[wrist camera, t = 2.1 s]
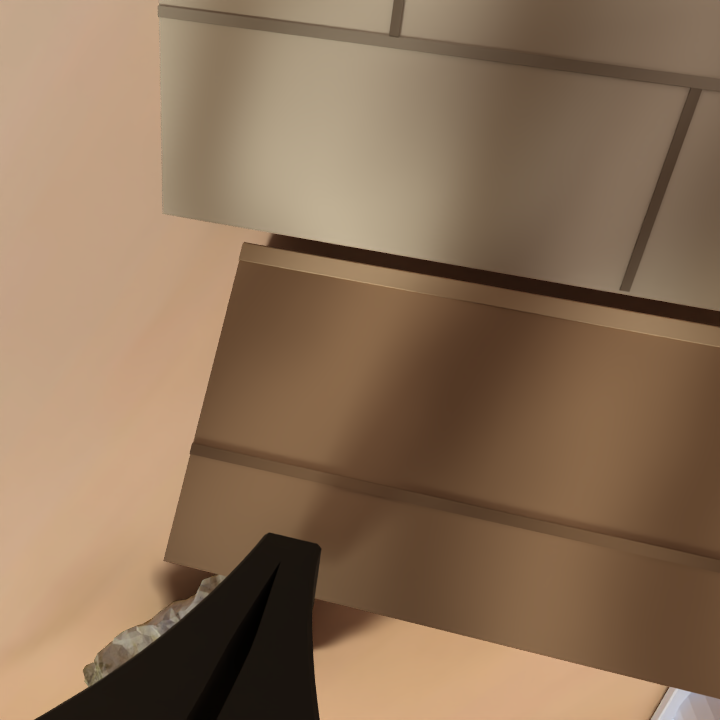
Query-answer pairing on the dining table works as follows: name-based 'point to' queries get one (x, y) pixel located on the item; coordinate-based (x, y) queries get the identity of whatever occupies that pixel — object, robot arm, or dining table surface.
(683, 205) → the beige grooved panel
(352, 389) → the plank
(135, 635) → the rock
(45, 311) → the dining table surface
